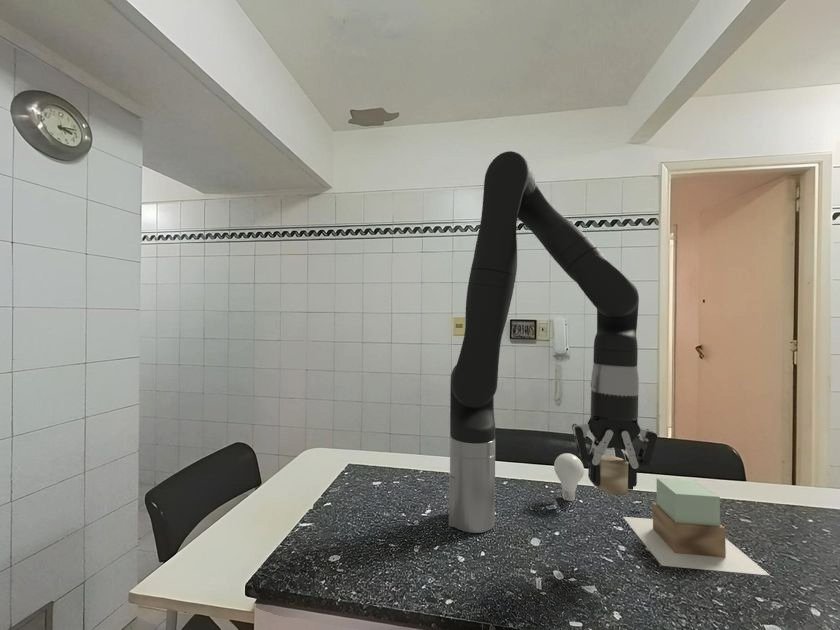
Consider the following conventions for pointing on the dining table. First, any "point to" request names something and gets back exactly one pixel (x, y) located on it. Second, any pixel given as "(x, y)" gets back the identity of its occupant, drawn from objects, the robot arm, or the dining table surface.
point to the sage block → (688, 502)
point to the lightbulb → (569, 474)
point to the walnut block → (689, 535)
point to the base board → (667, 557)
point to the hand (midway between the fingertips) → (612, 485)
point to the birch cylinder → (613, 475)
